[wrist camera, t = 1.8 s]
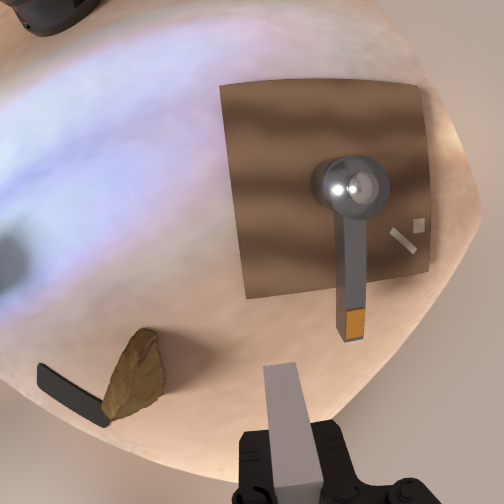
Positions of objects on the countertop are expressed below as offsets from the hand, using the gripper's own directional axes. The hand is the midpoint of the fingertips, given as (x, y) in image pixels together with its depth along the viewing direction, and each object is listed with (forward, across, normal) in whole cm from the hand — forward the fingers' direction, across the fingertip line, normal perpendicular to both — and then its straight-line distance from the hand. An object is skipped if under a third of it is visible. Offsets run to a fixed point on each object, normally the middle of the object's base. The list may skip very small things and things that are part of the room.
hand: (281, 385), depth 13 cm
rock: (+20, -16, -12) cm, 28 cm away
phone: (+20, -34, -20) cm, 44 cm away
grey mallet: (+17, +8, +2) cm, 19 cm away
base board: (+19, +9, +8) cm, 23 cm away
